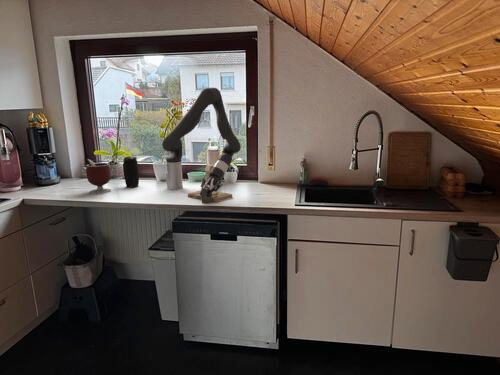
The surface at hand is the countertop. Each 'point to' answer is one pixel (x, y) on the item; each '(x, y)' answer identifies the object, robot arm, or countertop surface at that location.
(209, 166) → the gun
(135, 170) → the portable speaker
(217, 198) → the brown flat slatted board
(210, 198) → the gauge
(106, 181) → the mate gourd
